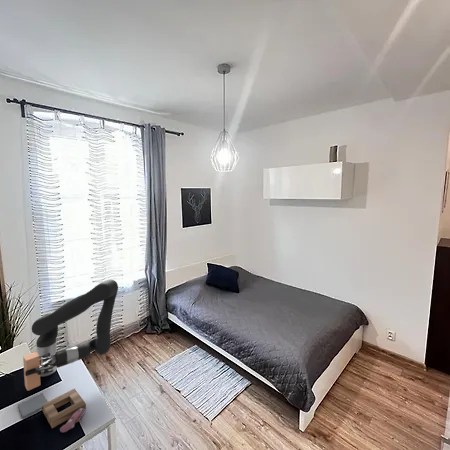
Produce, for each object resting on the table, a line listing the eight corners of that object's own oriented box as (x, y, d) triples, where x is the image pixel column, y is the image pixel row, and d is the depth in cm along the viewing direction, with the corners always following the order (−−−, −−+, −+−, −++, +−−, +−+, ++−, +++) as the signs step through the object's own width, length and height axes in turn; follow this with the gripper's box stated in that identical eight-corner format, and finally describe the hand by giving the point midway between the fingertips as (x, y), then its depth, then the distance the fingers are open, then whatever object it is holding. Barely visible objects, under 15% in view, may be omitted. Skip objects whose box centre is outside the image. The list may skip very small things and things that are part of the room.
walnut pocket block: (42, 410, 120) (41, 404, 119) (74, 393, 130) (74, 388, 130) (52, 428, 111) (51, 422, 110) (85, 409, 121) (85, 403, 121)
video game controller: (66, 438, 108) (72, 426, 107) (57, 431, 109) (63, 420, 108) (83, 418, 118) (89, 407, 117) (75, 412, 119) (81, 401, 117)
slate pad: (17, 406, 121) (17, 404, 121) (42, 394, 129) (42, 392, 129) (23, 418, 115) (23, 416, 115) (48, 405, 123) (48, 403, 122)
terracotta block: (24, 385, 120) (23, 356, 119) (37, 380, 124) (36, 351, 123) (27, 390, 117) (26, 360, 116) (40, 385, 121) (39, 355, 119)
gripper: (64, 343, 134) (24, 354, 123) (69, 356, 123) (25, 371, 112) (65, 356, 135) (24, 369, 124) (69, 371, 124) (26, 386, 113)
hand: (25, 370), depth 118 cm, fingers closed on terracotta block, 5 cm apart
